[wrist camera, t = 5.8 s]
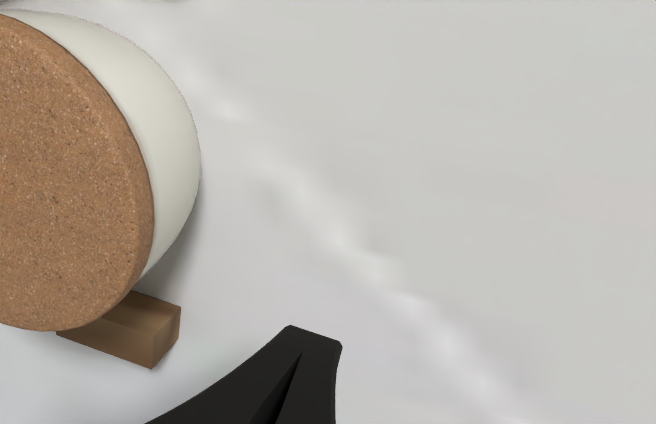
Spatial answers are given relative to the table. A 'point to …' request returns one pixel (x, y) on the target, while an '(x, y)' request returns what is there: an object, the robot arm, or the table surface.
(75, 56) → the lidded jar
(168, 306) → the yoke
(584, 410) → the table surface
